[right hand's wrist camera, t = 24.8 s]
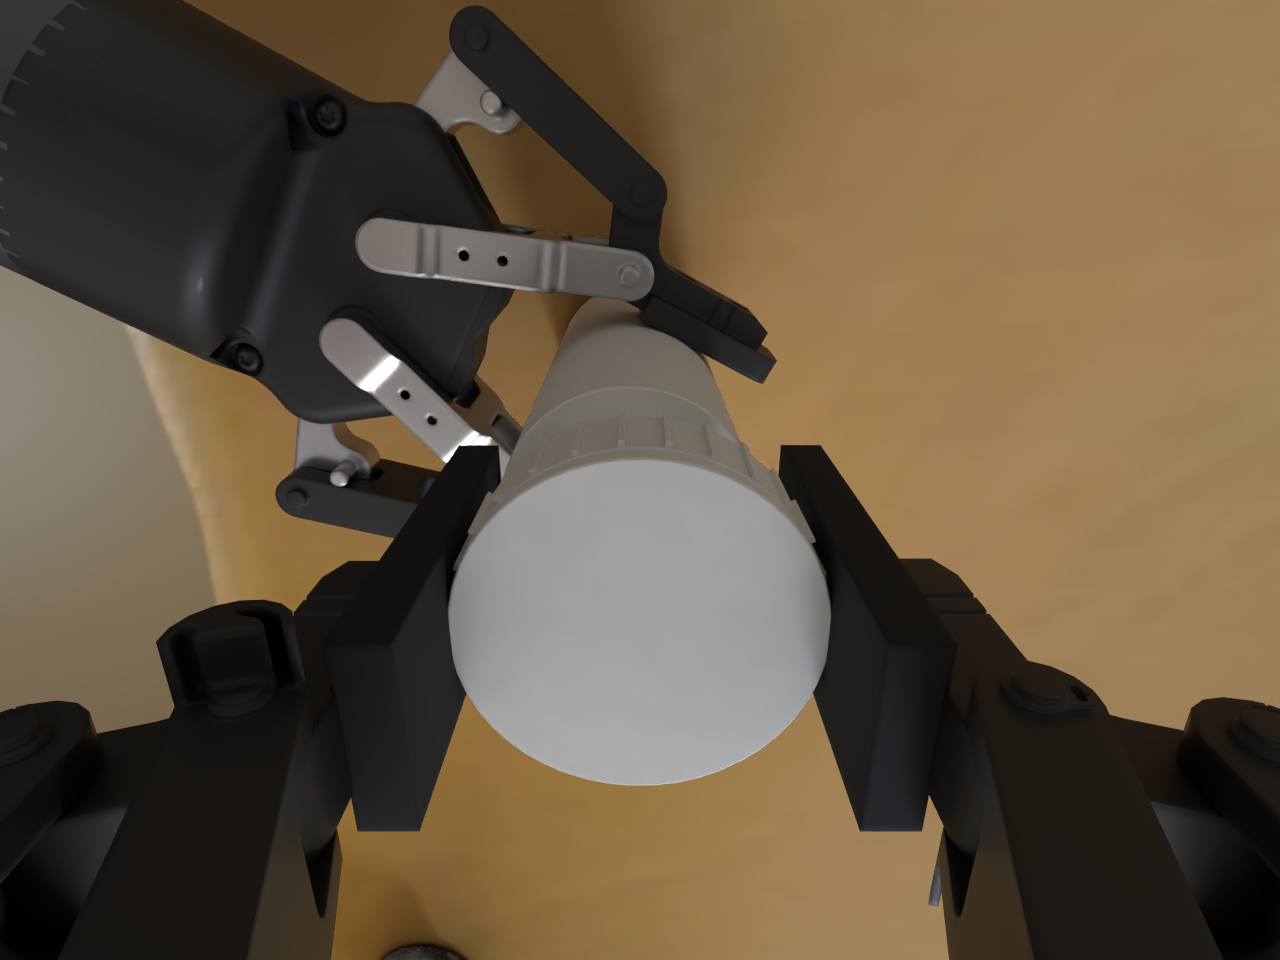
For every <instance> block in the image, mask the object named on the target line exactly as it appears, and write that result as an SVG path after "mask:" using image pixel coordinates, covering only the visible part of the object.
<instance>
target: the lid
mask: <svg viewBox="0 0 1280 960" xmlns="http://www.w3.org/2000/svg"><path fill="white" fill-rule="evenodd" d="M468 534H469V535H468V537H467V539H466V541H465V543H464V545H463V547H462V549H461V552H460V554H459V556H458V558H457V560H456V562H455V564H454V567H453V571H456V573H455V576H454V579H453V582H452V585H451V590H450V596H449V601H448V618H449V628H450V637H451V646H452V654H453V661H454V665H455V669H456V672H457V674H458V676H459V679H460V681H461V683H462V685H463V687H464V689H465V691H466V693H467V695H468V696H469V698H470V699H471V701H472V702H473V704H474V705H475V707H476V709H477V710H478V711H479V712H480V713H481V715H482V716H483V717H484V718H485V719H486V721H487V722H488V723H489V724H490V725H491V726H492V727H493V728H494V729H495V730H496V731H497V732H498V733H499V734H500V735H502V736H503V737H504V738H505V739H506V740H507V741H508V742H510V743H511V744H513V745H514V746H515V747H517V748H518V749H520V750H521V751H522V752H524V753H525V754H527V755H529V756H531V757H532V758H534V759H536V760H538V761H540V762H541V763H543V764H545V765H547V766H550V767H552V768H555V769H557V770H559V771H562V772H564V773H567V774H570V775H574V776H577V777H581V778H584V779H587V780H593V781H598V782H603V783H609V784H620V785H632V786H635V785H660V784H669V783H677V782H682V781H686V780H691V779H695V778H699V777H702V776H705V775H708V774H711V773H714V772H717V771H720V770H723V769H725V768H727V767H729V766H731V765H733V764H736V763H738V762H740V761H742V760H744V759H745V758H747V757H748V756H750V755H752V754H753V753H755V752H757V751H758V750H760V749H761V748H763V747H764V746H765V745H766V744H768V743H769V742H770V741H772V740H773V739H774V738H775V737H777V736H778V735H779V734H780V733H781V732H782V731H783V730H784V729H785V728H786V727H787V726H788V725H789V724H790V723H791V722H792V721H793V720H794V719H795V717H796V716H797V715H798V713H799V712H800V711H801V710H802V708H803V707H804V706H805V704H806V703H807V701H808V700H809V698H810V696H811V694H812V693H813V691H814V689H815V687H816V686H817V684H818V681H819V679H820V676H821V674H822V671H823V669H824V666H825V663H826V657H827V650H828V642H829V632H830V623H831V599H830V595H829V590H828V586H827V582H826V572H825V570H824V568H823V566H822V563H821V561H820V559H819V557H818V555H817V553H816V551H815V549H814V547H813V545H812V543H814V542H816V540H815V538H814V536H813V534H812V532H811V530H810V528H809V526H808V524H807V522H806V520H805V518H804V516H803V514H802V512H801V510H800V508H799V506H798V504H797V502H796V500H795V499H794V500H792V501H790V499H789V497H788V495H787V493H786V491H785V488H784V486H783V484H782V482H781V480H780V478H779V476H778V474H777V472H776V471H775V470H774V469H773V468H772V469H771V470H770V471H769V470H768V469H766V468H765V467H764V466H763V465H762V464H761V463H760V462H759V461H758V460H757V459H756V458H755V457H754V456H753V455H751V453H750V451H749V448H748V446H747V445H746V444H745V443H743V442H742V443H741V444H740V445H737V444H736V443H734V442H732V441H731V440H729V439H727V438H725V437H723V436H721V435H719V434H717V433H715V432H713V431H712V428H711V425H708V424H706V423H705V424H704V426H703V428H702V427H700V426H697V425H694V424H690V423H686V422H682V421H678V420H673V419H670V414H665V413H663V415H662V418H657V417H648V416H644V417H627V413H626V412H624V413H619V418H613V419H607V420H600V421H596V422H593V423H589V424H585V421H584V420H582V421H579V422H577V426H576V428H574V429H571V430H569V431H567V432H564V433H562V434H560V435H557V436H555V437H554V438H552V439H550V440H549V441H548V440H547V439H546V437H544V438H542V439H541V440H540V441H539V443H538V446H537V448H536V449H534V450H533V451H532V452H531V453H529V454H528V455H527V456H526V457H524V458H523V459H522V460H521V461H520V462H519V463H518V464H515V463H514V462H511V463H510V464H509V465H508V468H507V470H506V472H505V474H504V476H503V478H502V480H501V483H500V484H499V486H498V487H497V489H496V490H495V491H494V493H493V494H492V493H490V492H488V493H487V495H486V496H485V498H484V500H483V502H482V504H481V506H480V508H479V510H478V512H477V514H476V516H475V518H474V520H473V522H472V525H471V527H470V529H469V531H468Z"/></svg>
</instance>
